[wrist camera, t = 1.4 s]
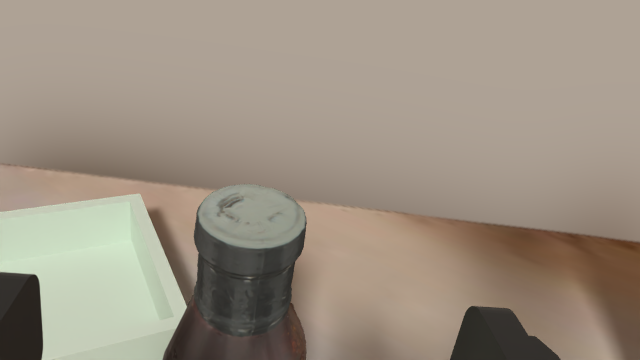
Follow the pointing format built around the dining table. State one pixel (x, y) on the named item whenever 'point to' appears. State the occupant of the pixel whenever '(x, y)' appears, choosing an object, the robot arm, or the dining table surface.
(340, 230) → the dining table surface
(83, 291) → the sage bin
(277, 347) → the sauce bottle
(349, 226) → the dining table surface
